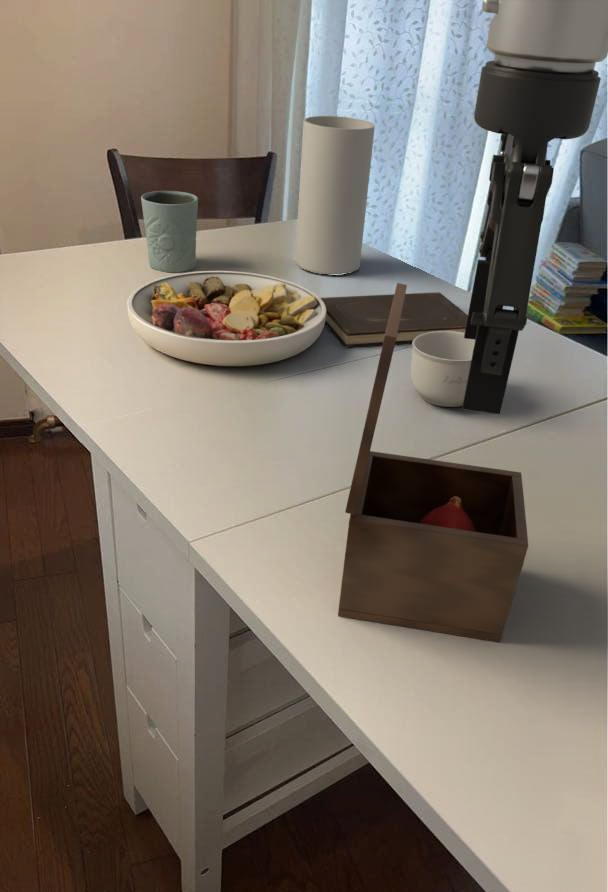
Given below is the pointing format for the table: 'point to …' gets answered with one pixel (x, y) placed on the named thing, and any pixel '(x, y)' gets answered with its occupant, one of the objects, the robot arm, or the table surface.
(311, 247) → the cylinder vase
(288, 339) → the bowl
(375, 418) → the lid
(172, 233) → the green embossed cup
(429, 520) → the onion
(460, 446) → the table surface
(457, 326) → the hardcover book
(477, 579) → the box
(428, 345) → the teacup
